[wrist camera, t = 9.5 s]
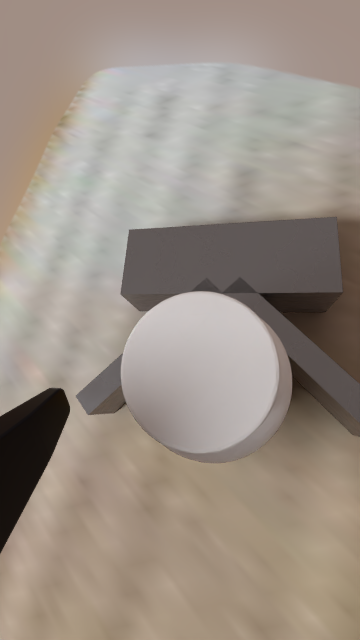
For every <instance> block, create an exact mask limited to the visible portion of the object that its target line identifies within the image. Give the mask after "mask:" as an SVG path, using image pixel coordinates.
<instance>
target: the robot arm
mask: <svg viewBox="0 0 360 640" xmlns="http://www.w3.org/2000/svg"><path fill="white" fill-rule="evenodd" d="M69 413H70V406H69V403H68V400H67V397H66V395H65V392H64V390H63V389H61V388H49V389H47V390H45V391H44V392H42V393H40V394H38V395H37V396H35V397H33V398H31V399H30V400H28V401H26V402H24V403H23V404H21V405H19V406H17V407H16V408H14V409H12V410H10V411H9V412H7V413H5V414H4V415H2V416H0V553H1V551H2V549H3V548H4V546H5V544H6V542H7V540H8V538H9V536H10V534H11V532H12V531H13V529H14V527H15V525H16V523H17V521H18V519H19V517H20V515H21V514H22V512H23V510H24V508H25V506H26V504H27V502H28V500H29V498H30V497H31V495H32V493H33V491H34V489H35V487H36V485H37V483H38V481H39V480H40V478H41V476H42V474H43V472H44V470H45V468H46V466H47V464H48V462H49V460H50V458H51V456H52V454H53V452H54V450H55V447H56V445H57V442H58V440H59V438H60V435H61V433H62V430H63V428H64V425H65V423H66V421H67V418H68V416H69Z"/></svg>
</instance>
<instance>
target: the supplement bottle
mask: <svg viewBox="0 0 360 640" xmlns="http://www.w3.org/2000/svg"><path fill="white" fill-rule="evenodd" d="M121 383H122V390H123V395H124V398H125V401H126V404H127V406H128V408H129V410H130V412H131V413H132V415H133V417H134V418H135V420H136V421H137V422H138V424H139V425H140V426H141V427H142V429H143V430H144V431H146V432H147V433H148V434H149V435H150V436H151V437H152V438H154V439H155V440H157V441H158V442H160V443H162V444H163V445H164V446H165V447H167V448H168V449H169V450H171V451H173V452H174V453H176V454H178V455H180V456H182V457H185V458H188V459H191V460H194V461H199V462H204V463H225V462H230V461H235V460H238V459H241V458H243V457H246V456H248V455H250V454H252V453H253V452H255V451H256V450H258V449H259V448H261V447H262V446H263V445H264V444H265V443H266V442H268V441H269V440H270V439H271V438H272V437H273V435H274V434H275V433H276V432H277V430H278V429H279V427H280V426H281V424H282V422H283V420H284V418H285V416H286V414H287V411H288V408H289V405H290V401H291V395H292V372H291V366H290V362H289V359H288V355H287V353H286V350H285V348H284V346H283V344H282V342H281V340H280V339H279V337H278V336H277V335H276V333H275V332H274V331H273V330H272V328H271V327H270V326H269V325H268V324H267V323H266V322H265V321H263V320H262V319H261V318H260V317H259V316H258V315H257V314H256V313H255V312H253V311H252V310H251V309H250V308H249V307H247V306H246V305H245V304H243V303H241V302H240V301H238V300H236V299H234V298H231V297H229V296H226V295H224V294H219V293H215V292H208V291H195V292H187V293H182V294H179V295H175V296H173V297H170V298H168V299H166V300H164V301H162V302H160V303H159V304H157V305H156V306H155V307H153V308H152V309H150V310H149V311H148V312H147V313H146V314H145V315H144V316H143V317H142V318H141V319H140V320H139V322H138V323H137V324H136V326H135V327H134V329H133V331H132V332H131V334H130V336H129V338H128V340H127V343H126V345H125V348H124V352H123V356H122V362H121Z"/></svg>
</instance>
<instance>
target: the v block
mask: <svg viewBox="0 0 360 640" xmlns="http://www.w3.org/2000/svg"><path fill="white" fill-rule="evenodd" d="M195 291H208V292H215V293H219V294H224V295H226V296H229V297H231V298H234V299H236V300H238V301H240V302H241V303H243V304H245V305H246V306H247V307H249V308H250V309H251V310H252V311H253V312H255V313H256V314H257V315H258V316H259V317H260V318H261V319H262V320H263V321H265V322H266V323H267V324H268V325H269V326H270V327H271V328H272V330H273V331H274V332H275V333H276V335H277V336H278V337H279V339H280V340H281V342H282V344H283V346H284V348H285V350H286V353H287V355H288V359H289V362H290V366H291V372H292V376H293V377H294V378H295V379H296V380H297V381H298V382H299V383H300V384H301V385H302V386H303V387H304V388H305V389H306V390H307V391H309V392H310V393H311V394H312V395H313V396H314V397H315V398H316V399H317V400H318V401H319V402H320V403H321V404H322V405H323V406H324V407H325V408H326V409H327V410H328V411H329V412H330V413H331V414H332V415H333V416H334V417H335V418H336V419H337V420H338V421H339V422H340V423H341V424H342V425H343V426H344V427H345V428H346V429H347V430H349V431H350V432H351V433H352V434H353V435H356V436H360V384H359V383H358V382H357V381H356V380H355V379H354V378H352V377H351V376H350V375H349V374H348V373H347V372H346V371H345V370H343V369H342V368H341V367H340V366H339V365H338V364H337V363H336V362H335V361H333V360H332V359H331V358H330V357H329V356H328V355H327V354H326V353H324V352H323V351H322V350H321V349H320V348H319V347H318V346H317V345H316V344H314V343H313V342H312V341H311V340H310V339H309V338H308V337H307V336H305V335H304V334H303V333H302V332H301V331H300V330H299V329H298V328H297V327H295V326H294V325H293V324H292V323H291V322H290V321H289V320H288V319H286V318H285V317H284V316H283V315H282V314H281V313H280V312H326V311H327V310H328V309H329V308H330V306H331V305H332V304H333V303H334V302H335V301H336V300H337V298H338V297H339V296H340V295H341V294H342V293H343V287H342V275H341V263H340V251H339V240H338V228H337V217H327V218H311V219H295V220H279V221H263V222H247V223H231V224H215V225H199V226H183V227H167V228H151V229H135V230H129V235H128V243H127V250H126V258H125V265H124V272H123V280H122V287H121V295H122V296H123V297H124V298H125V299H126V300H127V301H129V302H130V303H131V304H132V305H133V306H134V307H135V308H136V309H138V310H139V311H149V310H150V309H152V308H153V307H155V306H156V305H157V304H159V303H160V302H162V301H164V300H166V299H168V298H170V297H173V296H175V295H179V294H182V293H187V292H195ZM122 356H123V353H122V354H121V355H120V356H119V357H118V358H117V359H116V360H115V361H114V362H113V363H111V364H110V365H109V366H108V367H107V368H106V369H105V370H104V371H103V372H101V373H100V374H99V375H98V376H97V377H96V378H95V379H94V380H93V381H92V382H90V383H89V384H88V385H87V386H86V387H85V388H84V389H83V390H82V391H80V392H79V393H78V394H77V395H76V397H77V399H78V400H79V402H80V403H81V405H82V406H83V408H84V409H85V411H86V413H87V414H88V415H94V414H109V413H115V412H116V411H117V410H118V409H119V408H120V407H121V406H122V405H123V404H125V403H126V401H125V398H124V395H123V390H122V383H121V362H122Z"/></svg>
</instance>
